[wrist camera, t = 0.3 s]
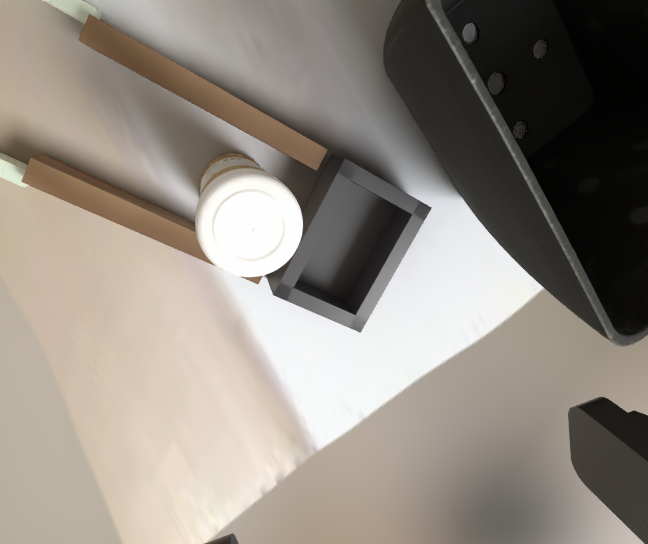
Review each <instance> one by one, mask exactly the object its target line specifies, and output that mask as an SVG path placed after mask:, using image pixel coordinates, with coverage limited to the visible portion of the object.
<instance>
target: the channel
mask: <svg viewBox="0 0 648 544" xmlns="http://www.w3.org/2000/svg"><path fill="white" fill-rule="evenodd" d="M79 41H80V42H82V43H84V44H85V45H87V46H89V47H90V48H92V49H94V50H96V51H98V52H100V53H101V54H103V55H105V56H107V57H109V58H111V59H112V60H114V61H116V62H118V63H120V64H121V65H123V66H125V67H127V68H129V69H131V70H132V71H134V72H136V73H138V74H140V75H142V76H143V77H145V78H147V79H149V80H151V81H153V82H154V83H156V84H158V85H160V86H162V87H164V88H165V89H167V90H169V91H171V92H173V93H174V94H176V95H178V96H180V97H182V98H184V99H185V100H187V101H189V102H191V103H193V104H195V105H196V106H198V107H200V108H202V109H204V110H206V111H207V112H209V113H211V114H213V115H215V116H217V117H218V118H220V119H222V120H224V121H226V122H227V123H229V124H231V125H233V126H235V127H237V128H238V129H240V130H242V131H244V132H246V133H248V134H249V135H251V136H253V137H255V138H257V139H259V140H260V141H262V142H264V143H266V144H268V145H270V146H271V147H273V148H275V149H277V150H279V151H281V152H282V153H284V154H286V155H288V156H290V157H291V158H293V159H295V160H297V161H299V162H301V163H302V164H304V165H306V166H308V167H310V168H312V169H314V170H316V171H317V170H318V168H319V166H320V164H321V162H322V160H323V158H324V156H325V154H326V152H327V149H326V148H324V147H322V146H320V145H319V144H317V143H315V142H313V141H312V140H310V139H308V138H306V137H305V136H303V135H301V134H299V133H298V132H296V131H294V130H292V129H291V128H289V127H287V126H285V125H284V124H282V123H280V122H278V121H277V120H275V119H273V118H271V117H270V116H268V115H266V114H264V113H263V112H261V111H259V110H257V109H256V108H254V107H252V106H250V105H248V104H247V103H245V102H243V101H241V100H240V99H238V98H236V97H234V96H233V95H231V94H229V93H227V92H226V91H224V90H222V89H220V88H219V87H217V86H215V85H213V84H212V83H210V82H208V81H206V80H205V79H203V78H201V77H199V76H198V75H196V74H194V73H192V72H191V71H189V70H187V69H185V68H184V67H182V66H180V65H178V64H177V63H175V62H173V61H171V60H170V59H168V58H166V57H164V56H163V55H161V54H159V53H157V52H156V51H154V50H152V49H150V48H149V47H147V46H145V45H143V44H142V43H140V42H138V41H136V40H135V39H133V38H131V37H129V36H128V35H126V34H124V33H122V32H120V31H119V30H117V29H115V28H113V27H112V26H110V25H108V24H106V23H105V22H103V21H101V20H99V19H98V18H96V17H94V16H92V15H91V14H89V15H88V18H87V20H86V23H85V25H84V28H83V30H82V33H81V35H80V38H79ZM21 182H23V183H25V184H27V185H30V186H32V187H34V188H36V189H39V190H41V191H43V192H46V193H48V194H50V195H53V196H55V197H57V198H60V199H62V200H64V201H67V202H69V203H71V204H74V205H76V206H78V207H80V208H83V209H85V210H87V211H90V212H92V213H94V214H97V215H99V216H101V217H104V218H106V219H108V220H111V221H113V222H115V223H117V224H120V225H122V226H124V227H127V228H129V229H131V230H134V231H136V232H138V233H141V234H143V235H145V236H148V237H150V238H152V239H154V240H157V241H159V242H161V243H164V244H166V245H168V246H171V247H173V248H175V249H178V250H180V251H182V252H185V253H187V254H189V255H192V256H194V257H196V258H198V259H201V260H203V261H205V262H208V263H210V264H212V265H214V264H213V263H212V262H211V261H210V260H209V259H208V258H207V256H206V255H205V254H204V252H203V251H202V249H201V247H200V245H199V242H198V239H197V235H196V229H195V223H193V222H191V221H188V220H186V219H184V218H182V217H180V216H177V215H175V214H173V213H171V212H169V211H167V210H164V209H162V208H160V207H158V206H156V205H153V204H151V203H149V202H147V201H145V200H143V199H140V198H138V197H136V196H134V195H132V194H129V193H127V192H125V191H123V190H121V189H118V188H116V187H114V186H112V185H110V184H108V183H105V182H103V181H101V180H99V179H97V178H94V177H92V176H90V175H88V174H86V173H83V172H81V171H79V170H77V169H75V168H73V167H70V166H68V165H66V164H64V163H62V162H59V161H57V160H55V159H53V158H51V157H49V156H46V155H42V156H37V157H33V158H30V161H29V163H28V166H27V168H26V171H25V173H24V176H23V178H22V181H21ZM215 266H216V265H215ZM262 276H263V275H262ZM262 276H256V277H242V278H245V279H247V280H249V281H252V282H254V283H256V284H259V282H260V280H261V278H262ZM240 277H241V276H240Z"/></svg>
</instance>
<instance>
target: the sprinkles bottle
mask: <svg viewBox="0 0 648 544" xmlns="http://www.w3.org/2000/svg"><path fill="white" fill-rule="evenodd" d="M195 229H196V235H197V239H198V242H199V245H200V247H201V249H202V251H203V252H204V254H205V255H206V256H207V258H208V259H209V260H210V261H211V262H212V263H213V264H214V265H216V266H217V267H218V268H220V269H221V270H223V271H225V272H227V273H230V274H233V275H237V276H241V277H256V276H262V275H265V274H268V273H271V272H273V271H275V270H277V269H279V268H280V267H281V266H283V265H284V264H285V263H286V262H287V261H288V260H289V259H290V258H291V257H292V256H293V254H294V253H295V251H296V249H297V247H298V245H299V243H300V240H301V236H302V231H303V219H302V213H301V209H300V206H299V204H298V202H297V200H296V198H295V197H294V195H293V194H292V192H291V191H290V190H289V189H288V188H287V187H286V186H285V185H284V184H283V183H282V182H281V181H280V180H279V179H277V178H276V177H274V176H273V175H271V174H269V173H267V172H266V171H265V170H264V169H262V168H261V167H260V166H259V164H258V163H256V162H255V161H254V160H253V159H251V158H250V157H248V156H246V155H243V154H238V153H228V154H224V155H220V156H218V157H216V158H215V159H213V160H212V161H211V162H209V163H208V165H207V166H206V168H205V169H204V170H203V172H202V175H201V178H200V198H199V201H198V204H197V208H196V213H195Z"/></svg>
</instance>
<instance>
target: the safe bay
mask: <svg viewBox="0 0 648 544" xmlns="http://www.w3.org/2000/svg"><path fill="white" fill-rule="evenodd" d="M42 1H44V2H46V3H47V4H49V5H51V6H53V7H55V8H56V9H58V10H60V11H62V12H63V13H65V14H67V15H69V16H71V17H72V18H74V19H76V20H78V21H79V22H81V23H83V24H85V23H86V20H87V18H88V15H89V14H91V15H92V16H94V17H96V18H98V19H99V20H100V19H101V17H102V13H101V12H100V11H99V10H98V9H97V8H95V7H93V6H91V5H90V4H88V3H86V2H84V1H83V0H42ZM27 166H28V165H27V164H25V163H23V162H21V161H18V160H16V159H14V158H12V157H10V156H7V155H5V154H3V153H1V152H0V177H1V178H4V179H6V180H8V181H11V182H13V183H15V184H17V185H20V186H22V187H26V186H29V185H27V184H25V183H23V182H21V181H22V178H23V176H24V173H25V171H26V168H27Z"/></svg>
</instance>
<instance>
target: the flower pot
mask: <svg viewBox="0 0 648 544" xmlns="http://www.w3.org/2000/svg"><path fill="white" fill-rule="evenodd" d="M471 22H472V23H474V24H476V25H477V27H478V28H479V38H478V40H477V41H476V42H475V43H474V44H471V45H469V44H467V43H466V42H465V41H464V39H463V36H462V32H463V28H464V26H465V25H466V24H468V23H471ZM541 38H542V39H545V40H546V41H547V43H548V52H547V55H546V56H545V57H544V58H543V59H541V60H540V59H537V58H535V57H534V54H533V46H534V44H535V43H536V41H537V40H539V39H541ZM383 57H384V65H385V69H386V72H387V74H388V76H389V78H390V79H391V81H392V83H393V84H394V86H395V88H396V89H397V91H398V92H399V94H400V96H401V97H402V99H403V101H404V102H405V104H406V106H407V107H408V109H409V111H410V112H411V114H412V116H413V117H414V119H415V120H416V122H417V124H418V125H419V127H420V129H421V130H422V132H423V133H424V135H425V137H426V138H427V140H428V142H429V143H430V145H431V147H432V148H433V150H434V152H435V153H436V155H437V157H438V158H439V160H440V162H441V163H442V165H443V167H444V168H445V170H446V171H447V173H448V175H449V176H450V178H451V180H452V181H453V183H454V184H455V186H456V188H457V189H458V191H459V193H460V194H461V196H462V198H463V199H464V201H465V202H466V204H467V205H468V206H469V208H470V209H471V210H472V212H473V213H474V214H475V216H476V217H477V218H478V220H479V221H480V222H481V223H482V224H483V225H484V227H485V228H486V229H487V230H488V232H489V233H490V234H491V235H492V236H493V237H494V238H495V240H496V241H497V242H498V243H499V244H500V245H501V246H502V247H503V248H504V249H505V251H506V252H507V253H508V254H509V255H510V256H511V257H512V258H513V259H514V260H515V261H516V262H517V263H518V264H519V265H520V266H521V267H522V268H523V269H524V270H525V271H526V272H527V273H528V274H529V275H531V276H532V277H533V278H534V279H535V280H536V281H537V282H538V283H539V284H540V285H542V286H543V287H544V288H545V289H546V290H547V291H549V292H550V293H551V294H552V295H553V296H554V297H555V298H557V299H558V300H559V301H560V302H561V303H562V304H563V305H565V306H566V307H567V308H568V309H570V310H571V311H572V312H573V313H574V314H576V315H577V316H578V317H579V318H581V319H582V320H583V321H585V322H586V323H587V324H588V325H590V326H591V327H592V328H593V329H595V330H596V331H597V332H599V333H600V334H601V335H602V336H604V337H605V338H607V339H608V340H610V341H611V342H612V343H614V344H616V345H618V346H629V345H633V344H635V343H637V342H638V341H640V340H641V339H643V338H644V337H645V336H647V335H648V0H401V2H400V4H399V5H398V7H397V9H396V11H395V13H394V15H393V17H392V19H391V22H390V24H389V27H388V30H387V33H386V37H385V42H384V50H383ZM494 72H500V73H502V74H503V76H504V77H505V80H506V85H505V89H504V90H503V92H502V93H501V94H499V95H493V94H491V92H490V91H489V88H488V85H487V82H488V80H489V78H490V76H491V75H492V73H494ZM519 120H524V121H525V122H526V123H527V124H528V133H527V135H526V136H525V137H524V138H523V139H517V138H515V137H514V135H513V133H514V131H513V128H514V125H515V124H516V123H517V122H518V121H519Z"/></svg>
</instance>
